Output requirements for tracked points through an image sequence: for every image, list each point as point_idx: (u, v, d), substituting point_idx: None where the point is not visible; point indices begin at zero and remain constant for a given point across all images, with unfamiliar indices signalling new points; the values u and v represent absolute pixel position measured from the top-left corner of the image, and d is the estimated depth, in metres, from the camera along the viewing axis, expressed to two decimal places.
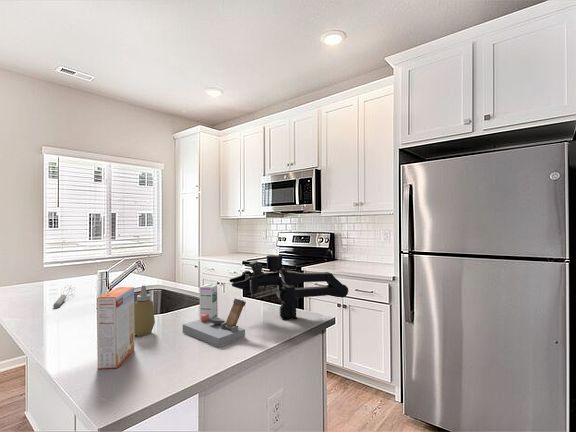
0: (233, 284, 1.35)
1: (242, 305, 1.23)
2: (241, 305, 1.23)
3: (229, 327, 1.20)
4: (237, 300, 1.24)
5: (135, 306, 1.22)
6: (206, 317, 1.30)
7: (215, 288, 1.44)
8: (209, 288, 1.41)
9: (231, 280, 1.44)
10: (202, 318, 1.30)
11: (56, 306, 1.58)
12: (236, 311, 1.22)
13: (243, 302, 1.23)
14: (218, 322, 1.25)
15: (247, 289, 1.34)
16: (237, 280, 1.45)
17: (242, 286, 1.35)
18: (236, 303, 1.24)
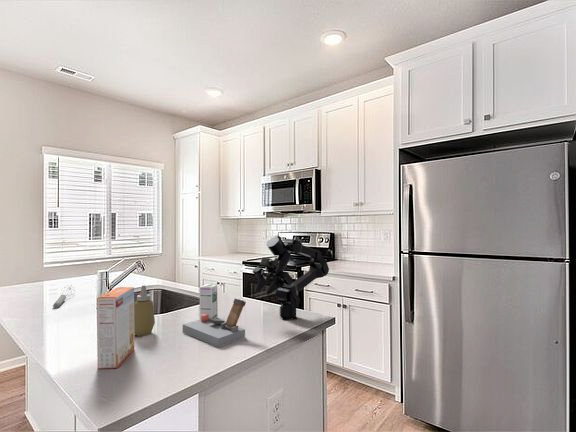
0: (268, 292, 1.32)
1: (242, 305, 1.23)
2: (241, 305, 1.23)
3: (229, 327, 1.20)
4: (237, 300, 1.24)
5: (135, 306, 1.22)
6: (206, 317, 1.30)
7: (215, 288, 1.44)
8: (209, 288, 1.41)
9: (258, 290, 1.36)
10: (202, 318, 1.30)
11: (56, 306, 1.58)
12: (236, 311, 1.22)
13: (243, 302, 1.23)
14: (218, 322, 1.25)
15: (280, 285, 1.35)
16: (260, 285, 1.38)
17: (275, 287, 1.33)
18: (236, 303, 1.24)
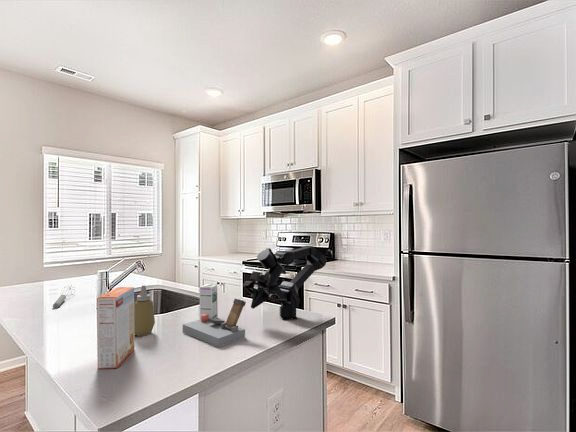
0: (253, 306, 1.30)
1: (242, 305, 1.23)
2: (241, 305, 1.23)
3: (229, 327, 1.20)
4: (237, 300, 1.24)
5: (135, 306, 1.22)
6: (206, 317, 1.30)
7: (215, 288, 1.44)
8: (209, 288, 1.41)
9: None
10: (202, 318, 1.30)
11: (56, 306, 1.58)
12: (236, 311, 1.22)
13: (243, 302, 1.23)
14: (218, 322, 1.25)
15: (266, 299, 1.32)
16: None
17: (261, 301, 1.31)
18: (236, 303, 1.24)
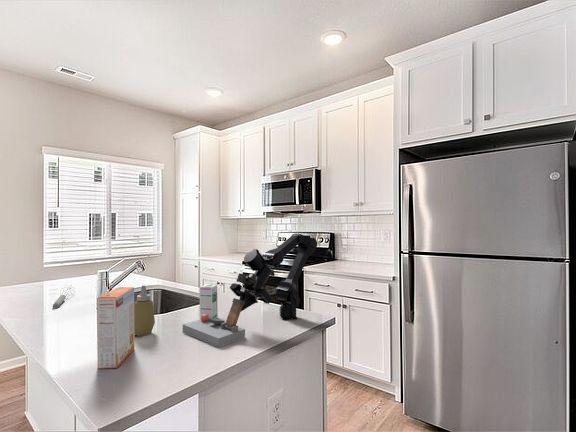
0: None
1: (241, 305, 1.23)
2: (240, 305, 1.22)
3: (229, 327, 1.20)
4: (236, 300, 1.24)
5: (135, 306, 1.22)
6: (206, 317, 1.30)
7: (215, 288, 1.44)
8: (209, 288, 1.41)
9: None
10: (202, 318, 1.30)
11: (55, 306, 1.58)
12: (235, 311, 1.22)
13: (242, 302, 1.23)
14: (218, 322, 1.25)
15: (253, 302, 1.27)
16: None
17: (247, 304, 1.26)
18: (235, 303, 1.24)
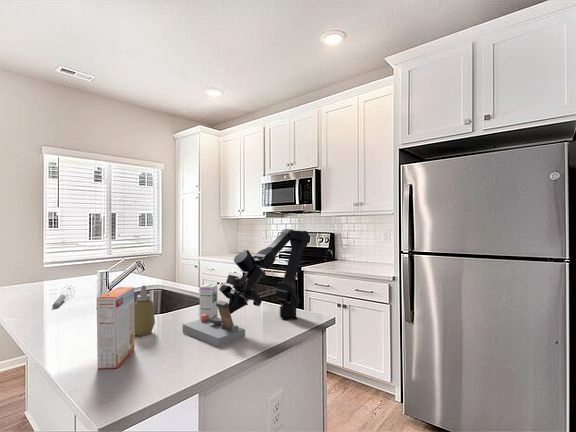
0: None
1: (226, 307, 1.17)
2: (225, 308, 1.17)
3: (229, 328, 1.20)
4: (219, 305, 1.18)
5: (135, 306, 1.22)
6: (206, 317, 1.30)
7: (215, 288, 1.44)
8: (209, 288, 1.41)
9: None
10: (202, 318, 1.30)
11: (55, 306, 1.58)
12: (225, 315, 1.18)
13: (225, 305, 1.17)
14: (218, 322, 1.25)
15: (243, 304, 1.23)
16: None
17: (237, 307, 1.22)
18: (220, 307, 1.18)
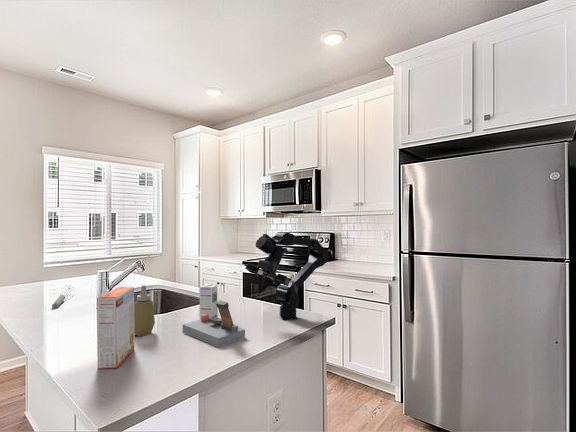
0: (260, 292, 1.35)
1: (226, 307, 1.17)
2: (225, 308, 1.17)
3: (229, 328, 1.20)
4: (219, 305, 1.18)
5: (135, 306, 1.22)
6: (206, 317, 1.30)
7: (215, 288, 1.44)
8: (209, 288, 1.41)
9: None
10: (202, 318, 1.30)
11: (55, 306, 1.58)
12: (225, 315, 1.18)
13: (225, 305, 1.17)
14: (218, 322, 1.25)
15: (271, 283, 1.38)
16: (261, 285, 1.37)
17: (266, 286, 1.37)
18: (220, 307, 1.18)
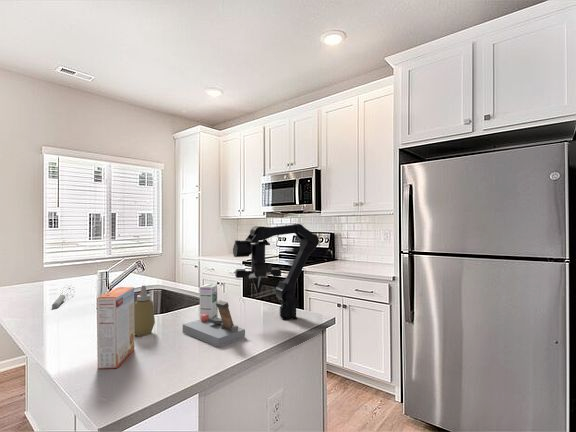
0: None
1: (226, 307, 1.17)
2: (225, 308, 1.17)
3: (229, 328, 1.20)
4: (219, 305, 1.18)
5: (135, 306, 1.22)
6: (206, 317, 1.30)
7: (215, 288, 1.44)
8: (209, 288, 1.41)
9: None
10: (202, 318, 1.30)
11: (55, 306, 1.58)
12: (225, 315, 1.18)
13: (225, 305, 1.17)
14: (218, 322, 1.25)
15: None
16: None
17: None
18: (220, 307, 1.18)
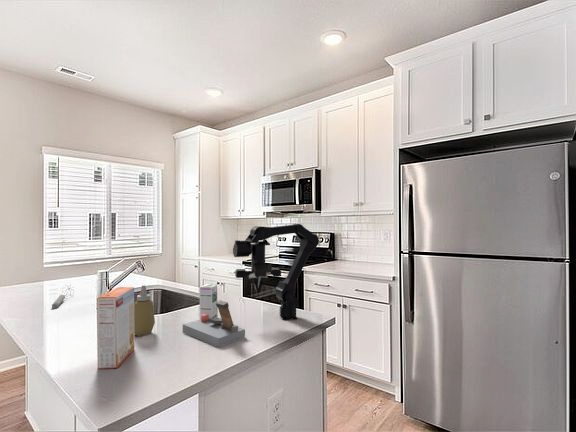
0: None
1: (226, 307, 1.17)
2: (225, 308, 1.17)
3: (229, 328, 1.20)
4: (219, 305, 1.18)
5: (135, 306, 1.22)
6: (206, 317, 1.30)
7: (215, 288, 1.44)
8: (209, 288, 1.41)
9: None
10: (202, 318, 1.30)
11: (55, 306, 1.58)
12: (225, 315, 1.18)
13: (225, 305, 1.17)
14: (218, 322, 1.25)
15: None
16: None
17: None
18: (220, 307, 1.18)
